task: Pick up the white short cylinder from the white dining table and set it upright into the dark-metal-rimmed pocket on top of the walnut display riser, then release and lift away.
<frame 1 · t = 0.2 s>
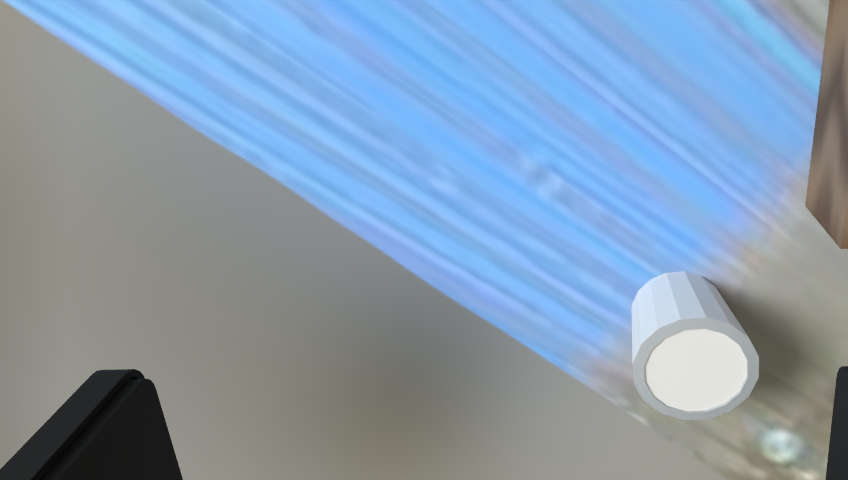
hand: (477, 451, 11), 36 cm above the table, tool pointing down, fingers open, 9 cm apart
white short cylinder: (676, 308, 49), on the table
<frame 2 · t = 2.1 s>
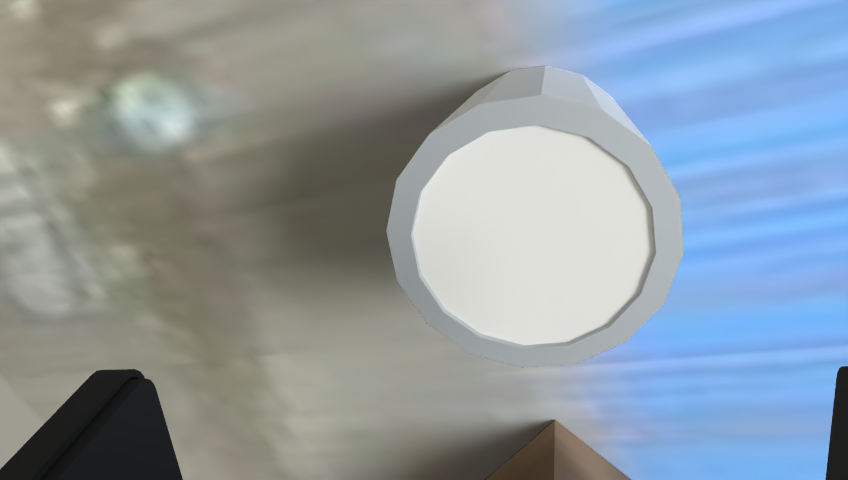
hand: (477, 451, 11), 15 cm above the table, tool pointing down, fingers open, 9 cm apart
white short cylinder: (539, 154, 24), on the table
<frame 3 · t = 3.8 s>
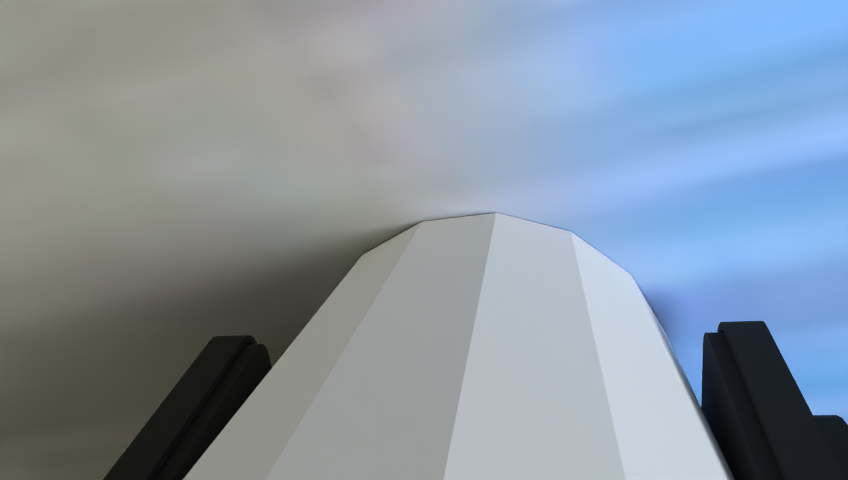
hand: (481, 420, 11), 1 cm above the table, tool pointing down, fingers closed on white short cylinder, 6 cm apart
white short cylinder: (488, 370, 12), on the table, touching gripper
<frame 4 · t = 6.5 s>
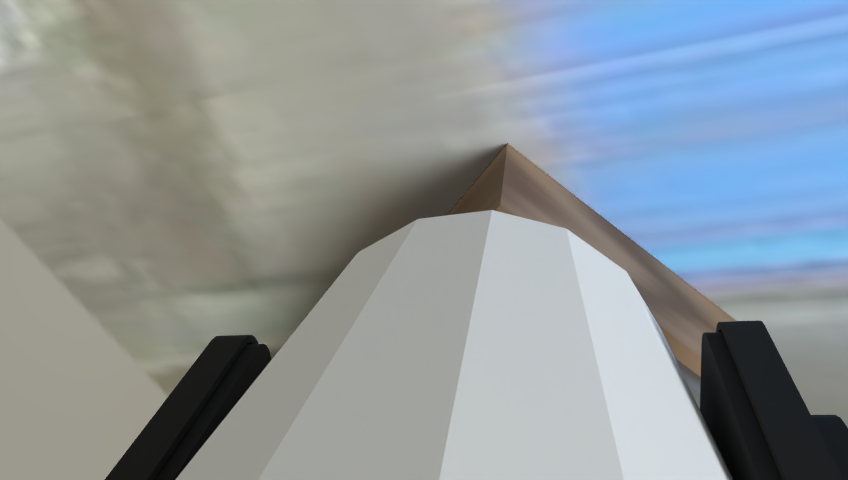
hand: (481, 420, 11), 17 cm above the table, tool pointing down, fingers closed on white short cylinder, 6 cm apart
white short cylinder: (484, 367, 12), point 16 cm above the table, touching gripper
display riser: (529, 349, 30), on the table
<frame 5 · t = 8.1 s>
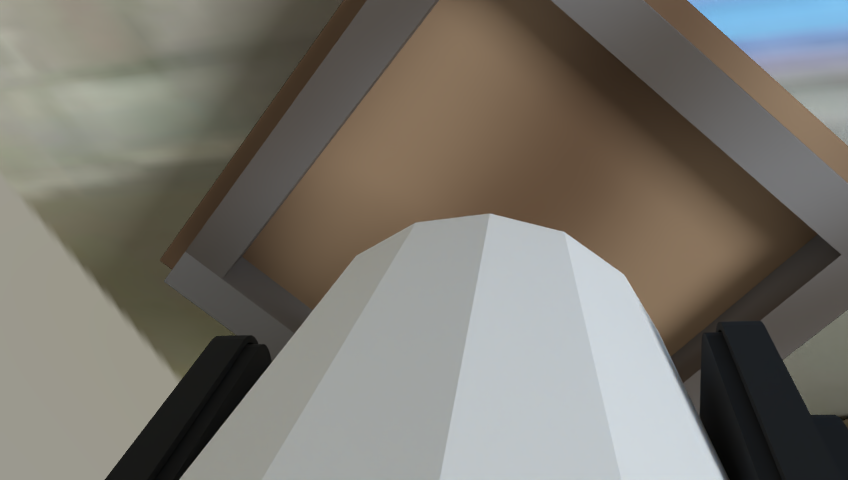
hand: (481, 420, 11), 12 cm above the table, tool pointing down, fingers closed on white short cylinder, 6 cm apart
white short cylinder: (482, 370, 12), point 11 cm above the table, touching gripper
display riser: (521, 161, 22), on the table
when the fingers open (9 cm above the table, at t = 9.2 s): white short cylinder drops 2 cm, resting on display riser.
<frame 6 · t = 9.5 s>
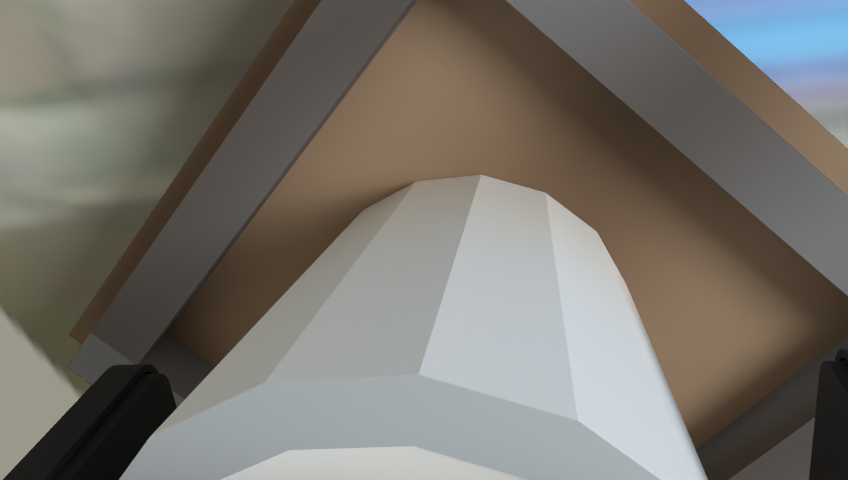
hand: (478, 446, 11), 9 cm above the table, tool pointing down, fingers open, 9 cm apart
white short cylinder: (471, 316, 14), point 6 cm above the table, touching display riser
display riser: (508, 203, 19), on the table
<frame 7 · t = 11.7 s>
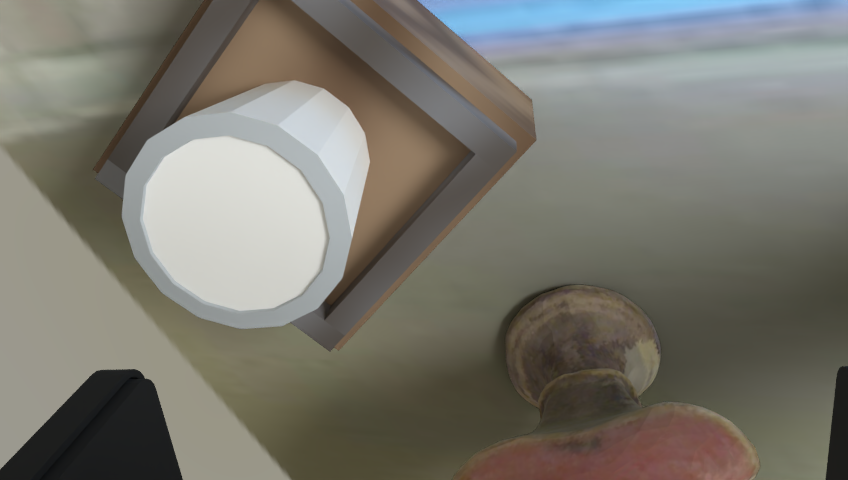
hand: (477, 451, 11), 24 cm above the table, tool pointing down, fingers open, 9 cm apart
white short cylinder: (296, 153, 29), point 6 cm above the table, touching display riser
display riser: (338, 113, 34), on the table
decorative bust: (572, 374, 39), on the table
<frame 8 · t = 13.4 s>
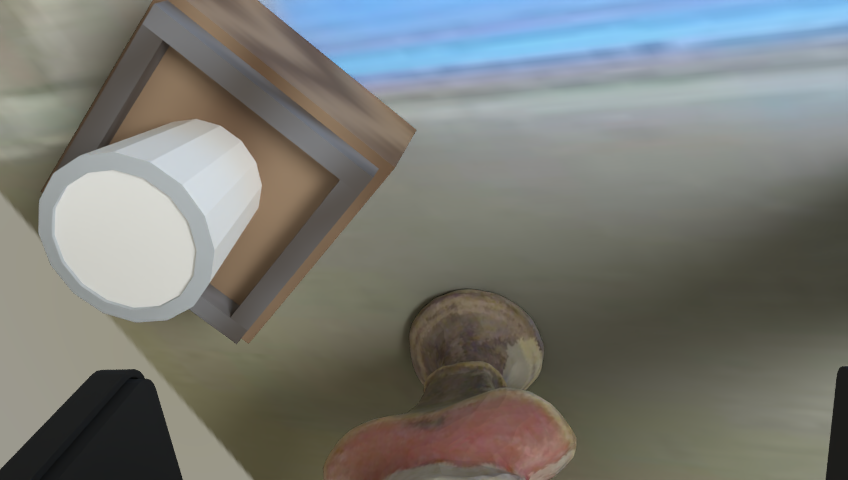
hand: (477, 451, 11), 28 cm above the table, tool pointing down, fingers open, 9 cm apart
white short cylinder: (203, 178, 35), point 6 cm above the table, touching display riser
display riser: (256, 142, 40), on the table
decorative bust: (471, 368, 44), on the table
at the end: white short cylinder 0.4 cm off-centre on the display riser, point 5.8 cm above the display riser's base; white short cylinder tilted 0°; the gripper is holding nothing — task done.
